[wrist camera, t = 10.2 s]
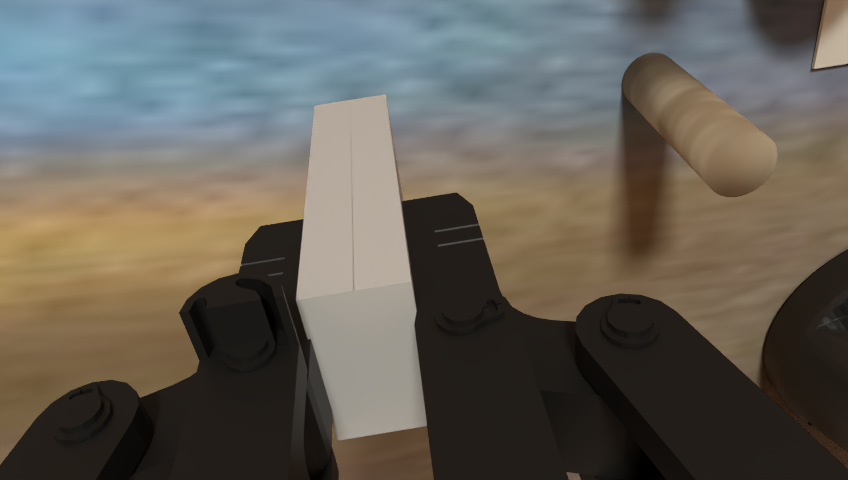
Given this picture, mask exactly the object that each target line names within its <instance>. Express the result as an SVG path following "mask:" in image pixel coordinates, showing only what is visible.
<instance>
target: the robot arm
mask: <svg viewBox="0 0 848 480" xmlns="http://www.w3.org/2000/svg"><path fill="white" fill-rule="evenodd" d="M241 264H242V266H240V270H239V273H237V274H234V275H230V276H226V277H223V278H219V279H217V280H215V281H213V282H211V283H209V284H207V285H205V286H203V287H201V288H200V289H199V290H198V291H197V292H195V293H194V294H193V295H192V296H191V297H189V298H188V299H187V300H186V302H185V304H184V305H183V307H182V309H181V310H180V312H179V314H180V316H181V318H182V321H183V323H184V325H185V328H186V330H187V332H188V335H189V337H190V339H191V342H192V344H193V346H194V349H195V351H196V353H197V356H198V358H199V360H200V361H199V365H198V369H197V372H196V373H195V374H193V375H192V376H190V377H189V378H187V379H184V380H182V381H180V382H178V383H176V384H174V385H172V386H169V387H167V388H164V389H162V390H159V391H157V392H154V393H151V394H149V395H146V396H144V397H141V398H140V397H139V395H138V394H137V392H136V391H135V390H134V389H133V388H132V387H131V386H130V385H129V384H127V383H124V382H119V381H114V380H107V381H100V382H92V383H90V384H87V385H84V386H82V387H79V388H77V389H74V390H71V391H70V392H68V393H67V394H65V395H63V396H62V397H60V398H59V399H57V400H56V401H54V402H53V403H51V404H50V405H49V406H48V407H47V408H46V409H45V410H44V411H43V412H42V413H41V414H40V415H39V416H38V417H37V418H36V420H35V421H34V422H33V423H32V425H31V426H30V427H29V429H28V430H27V431H26V432H25V434H24V435H23V436H22V438H21V439H20V440H19V442H18V443H17V444H16V445H15V447H14V448H13V449H12V451H11V452H10V453H9V455H8V456H7V457H6V458H5V460H4V461H3V462H2V464H1V465H0V480H338V479H339V471H338V467H337V463H336V459H335V456H334V452H333V449H332V422H333V426H334V429H335V433H336V436H337V439H338V441H339V440H345V439H351V438H357V437H363V436H369V435H375V434H381V433H387V432H393V431H399V430H405V429H411V428H417V427H424V426H427V429H428V436H429V444H430V452H431V460H432V468H433V475H434V480H569V479H568V476H567V473H566V472H572V473H579V475H580V478H581V480H848V469H847V468H846V467H845V466H844V465H843V464H842V463H841V462H840V461H839V460H837V459H836V458H835V457H834V456H833V455H832V454H831V453H830V452H829V451H828V450H827V449H825V448H824V447H823V446H822V445H821V444H820V443H819V442H818V441H817V440H816V439H815V438H813V437H812V436H811V435H810V434H809V433H808V432H807V431H806V430H805V429H804V428H803V427H802V426H800V425H799V424H798V423H797V422H796V421H795V420H794V419H793V418H792V417H791V416H790V415H788V414H787V413H786V412H785V411H784V410H783V409H782V408H781V407H780V406H779V405H778V404H776V403H775V402H774V401H773V400H772V399H771V398H770V397H769V396H768V395H767V394H766V393H764V392H763V391H762V390H761V389H760V388H759V387H758V386H757V385H756V384H755V383H754V382H752V381H751V380H750V379H749V378H748V377H747V376H746V375H745V374H744V373H743V372H742V371H740V370H739V369H738V368H737V367H736V366H735V365H734V364H733V363H732V362H731V361H730V360H729V359H727V358H726V357H725V356H724V355H723V354H722V353H721V352H720V351H719V350H718V349H717V348H715V347H714V346H713V345H712V344H711V343H710V342H709V341H708V340H707V339H706V338H705V337H703V336H702V335H701V334H700V333H699V332H698V331H697V330H696V329H695V328H694V327H693V326H691V325H690V324H689V323H688V322H687V321H686V320H685V319H684V318H683V317H682V316H681V315H679V314H678V313H677V312H676V311H675V310H673V309H672V308H670V307H669V306H667V305H666V304H664V303H662V302H661V301H659V300H656V299H652V298H649V297H646V296H642V295H634V294H616V295H610V296H605V297H601V298H599V299H597V300H595V301H593V302H591V303H589V304H587V305H586V306H585V307H584V308H583V309H582V311H581V312H580V313H579V315H578V316H577V319H576V322H572V321H557V320H548V319H541V318H536V317H533V316H530V315H527V314H524V313H522V312H520V311H518V310H517V309H515V308H513V307H512V306H511V305H510V304H509V302H508V301H507V299H506V298H505V297H503V296H502V294H501V292H500V290H499V286H498V283H497V280H496V277H495V274H494V271H493V267H492V264H491V261H490V258H489V255H488V252H487V248H486V245H485V242H484V240H483V236H482V233H481V229H480V226H479V224H478V220H477V217H476V214H475V210H474V207H473V205H472V204H471V203H469V202H468V201H467V200H466V199H464V198H463V197H462V196H460V195H459V194H458V193H451V194H444V195H438V196H432V197H426V198H420V199H413V200H407V201H403V196H402V190H401V184H400V178H399V172H398V166H397V160H396V154H395V148H394V142H393V136H392V130H391V124H390V118H389V112H388V106H387V100H386V94H385V95H379V96H373V97H367V98H360V99H354V100H348V101H341V102H335V103H329V104H323V105H316V106H315V108H314V118H313V129H312V139H311V149H310V160H309V170H308V180H307V191H306V201H305V211H304V219H302V220H296V221H290V222H283V223H277V224H271V225H265V226H260V227H259V229H258V230H257V231H256V232H255V233H254V234H253V236H252V237H251V238H250V239H249V240H248V242H247V243H246V244H245V248H244V252H243V257H242V261H241ZM764 365H765V370H766V374H767V376H768V379H769V381H770V382H771V384H772V386H773V387H774V388H775V390H776V391H777V392H778V394H779V395H780V397H781V398H782V399H783V401H784V402H785V403H786V405H787V406H788V407H789V409H790V410H791V411H792V412H793V413H794V414H795V415H796V416H797V417H798V418H799V419H801V420H802V421H803V422H805V423H807V424H808V425H810V426H812V427H813V428H815V429H817V430H819V431H821V432H822V433H823V434H825V435H826V436H827V437H828V438H830V439H831V440H832V441H834V442H835V443H836V444H838V445H839V446H840V447H842V448H843V449H844V450H846V451H847V452H848V250H847V251H845V252H843V253H842V254H840V255H838V256H837V257H835V258H834V259H832V260H831V261H829V262H828V263H827V264H825V265H824V266H823V267H821V268H820V269H819V270H818V271H816V272H815V273H814V274H813V275H812V276H810V277H809V278H808V279H807V280H806V281H805V282H804V283H803V284H802V285H801V286H800V287H799V288H798V289H797V290H796V291H795V292H794V293H793V295H792V296H791V297H790V298H789V299H788V301H787V302H786V303H785V305H784V306H783V308H782V309H781V310H780V312H779V314H778V315H777V317H776V319H775V321H774V323H773V325H772V327H771V329H770V331H769V334H768V337H767V341H766V345H765V351H764Z"/></svg>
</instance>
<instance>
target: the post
mask: <svg viewBox="0 0 848 480" xmlns="http://www.w3.org/2000/svg"><path fill="white" fill-rule="evenodd" d="M622 90H623V93H624V96H625V97H626V99H627V100H628V101H629V102H630V103H631V104H632V105H633V106H634V107H635V108H636V109H637V110H638V111H639V112H640V113H641V115H642V116H643V117H644V118H645V119H646V120H647V121H648V122H649V123H650V124H651V125H652V126H653V127H654V128H655V129H656V130H657V132H658V133H659V134H660V135H661V136H662V137H663V138H664V139H665V140H666V141H667V142H668V143H669V144H670V145H671V146H672V147H673V149H674V150H675V151H676V152H677V153H678V154H679V155H680V156H681V157H682V158H683V159H684V160H685V161H686V162H687V163H688V165H689V166H690V167H691V168H692V169H693V170H694V171H695V172H696V173H697V174H698V175H699V176H700V177H701V178H702V179H703V180H704V182H705V183H706V184H707V185H708V186H709V187H710V188H711V189H712V190H713V191H714V192H716V193H717V194H719V195H721V196H725V197H738V196H742V195H745V194H748V193H750V192H752V191H754V190H756V189H757V188H758V187H760V186H761V185H762V184H763V183H764V182H765V181H766V180H767V179H768V178H769V177H770V175H771V174H772V172H773V170H774V168H775V166H776V163H777V157H778V154H777V148H776V145H775V143H774V142H773V141H772V140H771V139H770V138H769V137H768V136H767V135H765V134H764V133H763V132H762V131H760V130H759V129H758V128H757V127H755V126H754V125H753V124H752V123H750V122H749V121H748V120H747V119H745V118H744V117H743V116H742V115H740V114H739V113H738V112H736V111H735V110H734V109H733V108H731V107H730V106H729V105H728V104H726V103H725V102H724V101H723V100H721V99H720V98H719V97H718V96H716V95H715V94H714V93H713V92H711V91H710V90H709V89H708V88H706V87H705V86H704V85H703V84H701V83H700V82H699V81H698V80H696V79H695V78H694V77H693V76H691V75H690V74H689V73H688V72H686V71H685V70H684V69H683V68H681V67H680V66H679V65H678V64H676V63H675V62H674V61H673V60H671V59H670V58H669V57H667V56H666V55H664V54H661V53H649V54H645V55H643V56H641V57H639V58H637V59H636V60H635V61H633V62H632V63H631V64H630V66H629V67H628V68H627V70H626V72H625V74H624V76H623V80H622Z"/></svg>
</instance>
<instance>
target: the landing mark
mask: <svg viewBox="0 0 848 480" xmlns="http://www.w3.org/2000/svg"><path fill="white" fill-rule="evenodd" d="M842 64H848V0H825V2H824V7H823V12H822V17H821V22H820V27H819V32H818V37H817V42H816V47H815V52H814V57H813V62H812V67H811V68H813V69H817V68H824V67H830V66H836V65H842Z"/></svg>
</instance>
